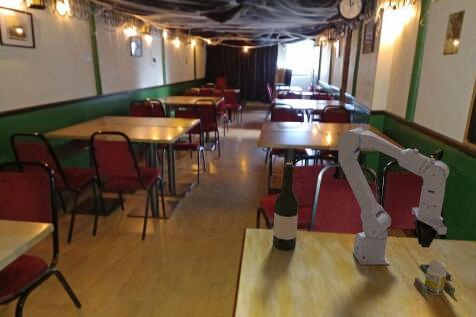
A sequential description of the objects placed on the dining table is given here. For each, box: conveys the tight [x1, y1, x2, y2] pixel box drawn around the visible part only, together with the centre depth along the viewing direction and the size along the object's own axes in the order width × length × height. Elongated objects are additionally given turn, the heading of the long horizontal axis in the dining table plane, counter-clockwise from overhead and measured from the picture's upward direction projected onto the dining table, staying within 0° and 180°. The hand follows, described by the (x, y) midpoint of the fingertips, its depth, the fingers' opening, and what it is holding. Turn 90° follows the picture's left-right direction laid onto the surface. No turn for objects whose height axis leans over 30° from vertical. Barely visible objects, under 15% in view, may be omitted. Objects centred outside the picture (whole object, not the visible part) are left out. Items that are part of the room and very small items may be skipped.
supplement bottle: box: [424, 260, 447, 296], centre depth 96 cm, size 5×5×8 cm
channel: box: [413, 277, 456, 297], centre depth 97 cm, size 9×5×2 cm, turn 92°
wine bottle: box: [272, 162, 300, 252], centre depth 118 cm, size 8×8×30 cm
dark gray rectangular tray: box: [419, 263, 452, 280], centre depth 106 cm, size 6×6×1 cm
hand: (423, 245), depth 102 cm, fingers closed
